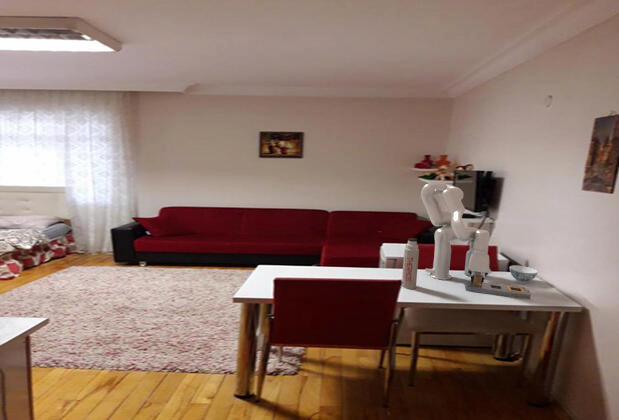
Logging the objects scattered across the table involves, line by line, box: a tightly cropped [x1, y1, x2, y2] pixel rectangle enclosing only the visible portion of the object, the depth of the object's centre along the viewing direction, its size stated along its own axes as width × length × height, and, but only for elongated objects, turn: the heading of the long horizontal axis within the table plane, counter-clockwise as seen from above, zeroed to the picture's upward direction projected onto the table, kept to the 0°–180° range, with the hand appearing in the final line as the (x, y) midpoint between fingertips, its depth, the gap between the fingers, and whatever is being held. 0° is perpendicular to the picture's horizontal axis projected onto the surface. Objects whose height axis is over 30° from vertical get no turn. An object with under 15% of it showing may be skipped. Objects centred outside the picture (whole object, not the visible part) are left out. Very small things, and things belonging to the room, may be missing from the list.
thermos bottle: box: [401, 237, 420, 290], centre depth 206 cm, size 8×8×28 cm
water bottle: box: [464, 240, 482, 278], centre depth 230 cm, size 10×10×28 cm
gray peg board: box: [463, 279, 532, 300], centre depth 205 cm, size 32×12×3 cm, turn 72°
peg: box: [472, 274, 482, 286], centre depth 208 cm, size 4×4×8 cm
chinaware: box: [509, 265, 539, 284], centre depth 223 cm, size 15×15×8 cm
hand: (476, 282), depth 208 cm, fingers closed on peg, 4 cm apart
